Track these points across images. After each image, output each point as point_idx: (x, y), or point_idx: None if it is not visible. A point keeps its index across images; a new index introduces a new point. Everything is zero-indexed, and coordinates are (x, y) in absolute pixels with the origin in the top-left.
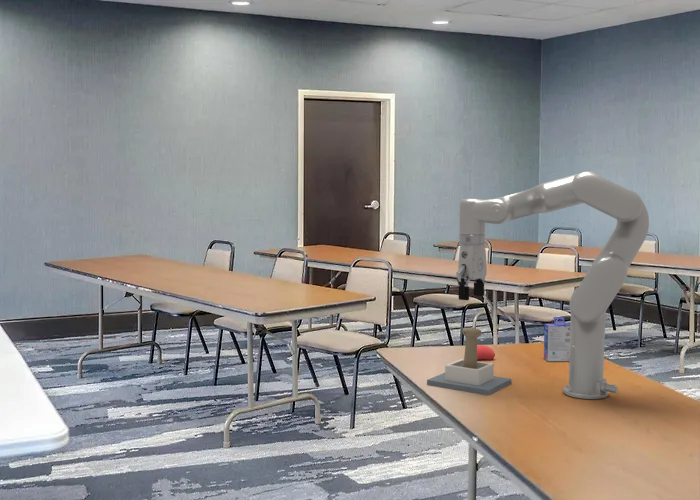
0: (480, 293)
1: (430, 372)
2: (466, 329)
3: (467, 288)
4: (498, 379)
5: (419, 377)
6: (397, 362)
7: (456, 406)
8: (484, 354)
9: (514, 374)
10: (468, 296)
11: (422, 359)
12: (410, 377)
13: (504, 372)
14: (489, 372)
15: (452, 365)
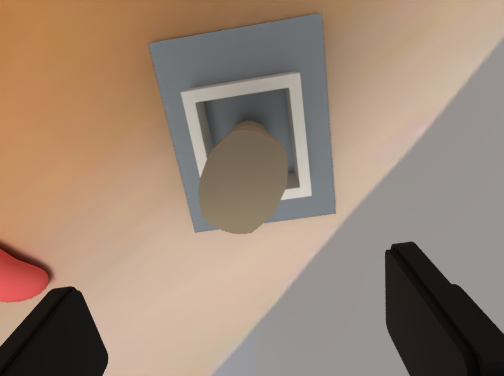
0: (75, 321)
1: (224, 271)
2: (255, 207)
3: (493, 349)
4: (186, 70)
5: (283, 261)
6: (206, 367)
7: (481, 12)
8: (5, 259)
9: (57, 104)
10: (426, 261)
11: (139, 350)
12: (298, 274)
13: (64, 139)
14: (216, 85)
15: (299, 178)
